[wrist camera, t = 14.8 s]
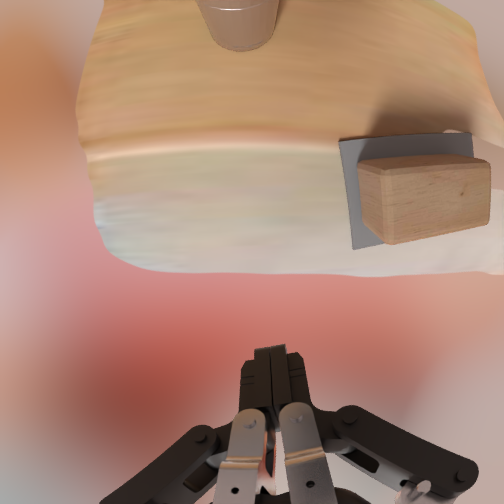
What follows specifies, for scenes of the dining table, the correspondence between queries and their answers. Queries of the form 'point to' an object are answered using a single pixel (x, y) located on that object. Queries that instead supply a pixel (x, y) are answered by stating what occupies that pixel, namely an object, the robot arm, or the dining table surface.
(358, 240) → the rubber mat
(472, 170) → the wooden block
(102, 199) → the dining table surface
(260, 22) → the robot arm
